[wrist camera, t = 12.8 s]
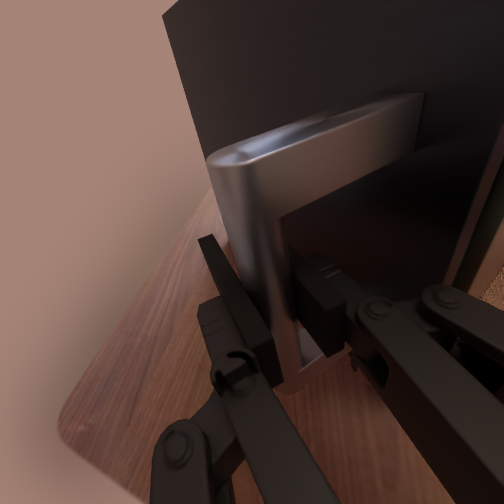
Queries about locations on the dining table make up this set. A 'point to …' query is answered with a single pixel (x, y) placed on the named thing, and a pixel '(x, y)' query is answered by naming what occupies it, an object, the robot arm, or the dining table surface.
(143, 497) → the dining table surface
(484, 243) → the storage compartment
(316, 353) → the compartment door
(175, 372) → the dining table surface
